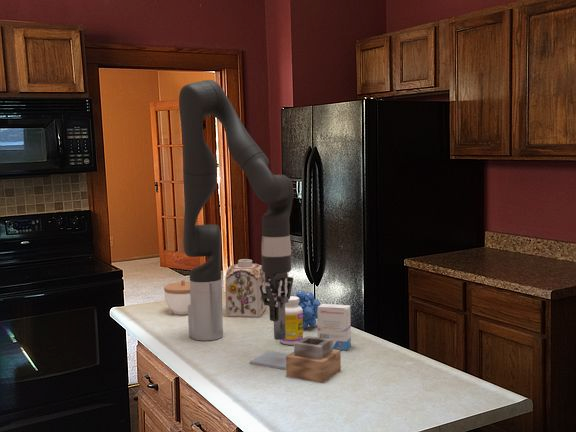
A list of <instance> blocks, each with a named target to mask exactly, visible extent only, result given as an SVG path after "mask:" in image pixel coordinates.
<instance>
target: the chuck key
mask: <svg viewBox="0 0 576 432" xmlns="http://www.w3.org/2000/svg"><path fill="white" fill-rule="evenodd" d="M273 299H274V302H275V298H274V297H273ZM285 303H288V297H286V296H282V295H281V296H280V298H279V300H278V318H279V319H278V321H273V338H274V340H275V341H276V340H278V341H280V340H283V339H286V329H285Z"/></svg>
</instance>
